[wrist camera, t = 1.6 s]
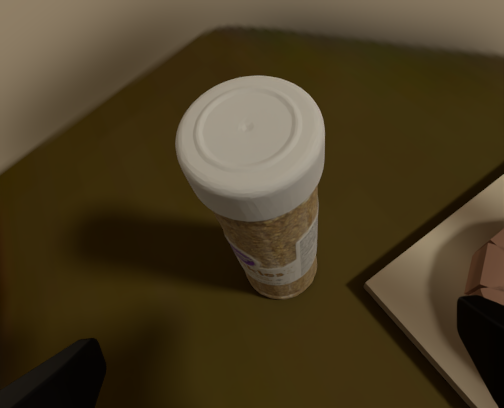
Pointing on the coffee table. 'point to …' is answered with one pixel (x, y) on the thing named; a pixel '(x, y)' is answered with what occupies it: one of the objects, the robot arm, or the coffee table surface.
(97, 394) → the robot arm
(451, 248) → the collar base
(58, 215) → the coffee table surface
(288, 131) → the sprinkles bottle
